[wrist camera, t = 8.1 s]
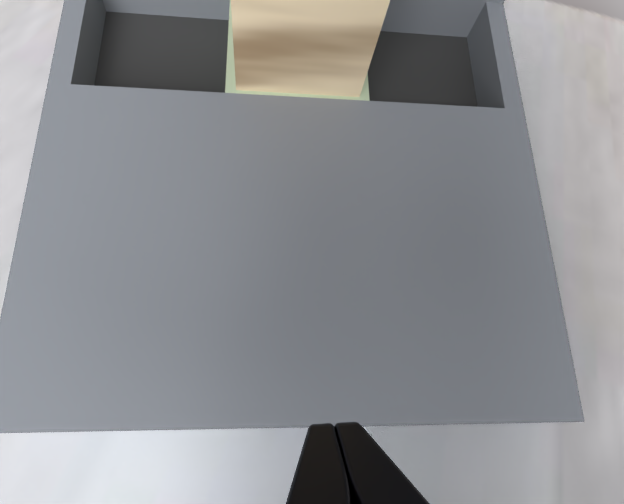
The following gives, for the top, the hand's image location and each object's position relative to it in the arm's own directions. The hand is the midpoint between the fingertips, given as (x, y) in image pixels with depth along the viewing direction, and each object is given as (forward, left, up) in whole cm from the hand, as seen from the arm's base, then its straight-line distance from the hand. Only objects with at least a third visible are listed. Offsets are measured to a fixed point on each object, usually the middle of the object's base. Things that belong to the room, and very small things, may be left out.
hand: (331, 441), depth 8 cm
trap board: (+9, -8, -14) cm, 18 cm away
